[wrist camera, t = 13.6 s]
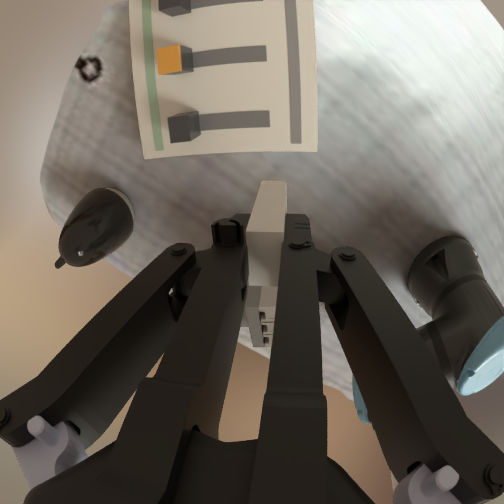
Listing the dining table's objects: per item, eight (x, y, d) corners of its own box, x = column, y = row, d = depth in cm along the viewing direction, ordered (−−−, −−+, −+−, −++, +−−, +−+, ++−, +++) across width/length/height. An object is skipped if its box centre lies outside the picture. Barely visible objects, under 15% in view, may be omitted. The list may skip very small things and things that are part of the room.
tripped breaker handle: (191, 48, 26) (178, 44, 22) (193, 71, 28) (180, 70, 24) (172, 52, 26) (156, 49, 22) (174, 74, 28) (158, 74, 24)
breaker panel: (306, -20, 23) (311, -45, 16) (313, 143, 36) (321, 160, 29) (145, 1, 26) (112, -12, 18) (159, 150, 39) (130, 168, 31)
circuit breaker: (219, 242, 47) (194, 307, 34) (309, 237, 44) (315, 304, 32) (227, 279, 51) (209, 346, 38) (310, 275, 48) (314, 345, 36)
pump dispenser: (84, 200, 45) (31, 245, 32) (118, 168, 41) (59, 210, 28) (117, 242, 49) (73, 296, 36) (154, 217, 45) (109, 272, 33)
